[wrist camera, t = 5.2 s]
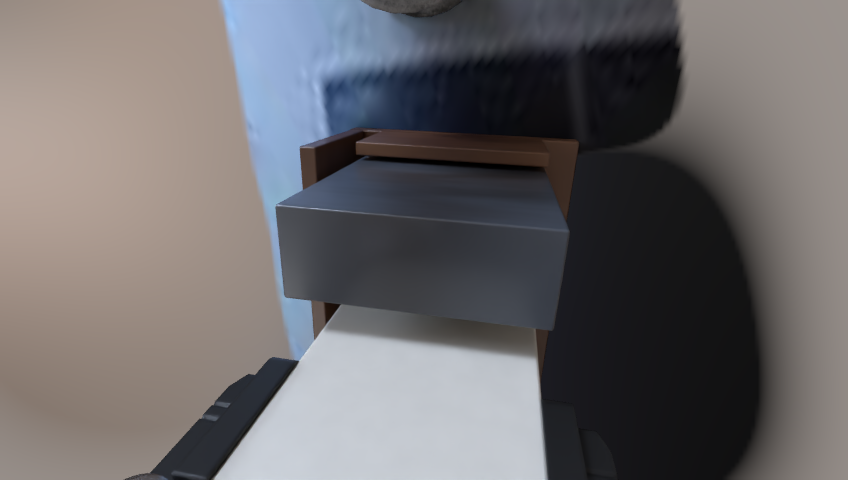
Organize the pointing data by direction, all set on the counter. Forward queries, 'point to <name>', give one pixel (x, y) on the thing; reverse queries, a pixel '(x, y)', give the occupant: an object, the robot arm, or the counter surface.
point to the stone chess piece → (413, 6)
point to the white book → (402, 404)
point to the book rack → (431, 226)
